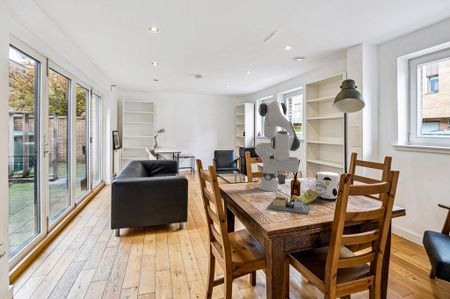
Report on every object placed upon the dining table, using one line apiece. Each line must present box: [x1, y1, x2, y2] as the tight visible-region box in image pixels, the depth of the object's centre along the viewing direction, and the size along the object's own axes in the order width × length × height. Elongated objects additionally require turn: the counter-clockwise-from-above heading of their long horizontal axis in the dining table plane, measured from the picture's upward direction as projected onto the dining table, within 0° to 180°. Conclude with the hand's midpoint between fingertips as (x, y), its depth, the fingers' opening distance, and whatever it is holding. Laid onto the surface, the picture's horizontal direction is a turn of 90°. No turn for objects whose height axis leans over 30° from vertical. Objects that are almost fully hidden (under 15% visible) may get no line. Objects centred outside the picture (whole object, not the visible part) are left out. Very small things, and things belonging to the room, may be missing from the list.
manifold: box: [267, 196, 311, 215], centre depth 153 cm, size 12×24×6 cm, turn 65°
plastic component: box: [289, 188, 318, 206], centre depth 168 cm, size 20×7×10 cm
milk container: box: [313, 171, 340, 200], centre depth 178 cm, size 17×17×18 cm
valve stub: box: [277, 171, 286, 185], centre depth 154 cm, size 4×4×8 cm
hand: (281, 178), depth 154 cm, fingers closed on valve stub, 4 cm apart
